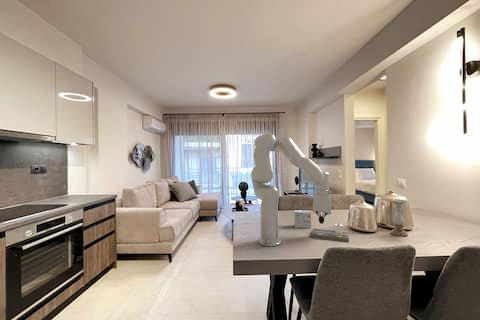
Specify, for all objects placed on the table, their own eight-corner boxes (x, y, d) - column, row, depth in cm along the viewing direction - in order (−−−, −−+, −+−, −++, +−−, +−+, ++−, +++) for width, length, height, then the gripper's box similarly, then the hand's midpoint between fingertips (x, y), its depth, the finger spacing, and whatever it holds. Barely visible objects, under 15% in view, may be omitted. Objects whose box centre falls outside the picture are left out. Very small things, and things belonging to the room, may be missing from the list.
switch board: (348, 242, 125) (348, 236, 125) (310, 237, 133) (310, 232, 133) (348, 235, 136) (348, 230, 136) (313, 231, 144) (313, 226, 144)
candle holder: (387, 233, 139) (386, 200, 139) (395, 231, 143) (394, 198, 143) (402, 237, 131) (402, 202, 131) (411, 235, 135) (410, 200, 135)
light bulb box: (309, 225, 158) (309, 210, 158) (311, 228, 151) (311, 212, 152) (293, 225, 159) (293, 209, 159) (295, 228, 152) (295, 211, 153)
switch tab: (342, 235, 130) (342, 225, 130) (335, 234, 131) (335, 224, 131) (342, 233, 133) (342, 223, 133) (335, 232, 135) (335, 222, 135)
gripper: (335, 192, 136) (335, 223, 136) (310, 190, 142) (309, 220, 142) (335, 194, 129) (334, 226, 129) (308, 192, 136) (307, 222, 135)
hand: (321, 223), depth 135 cm, fingers closed
